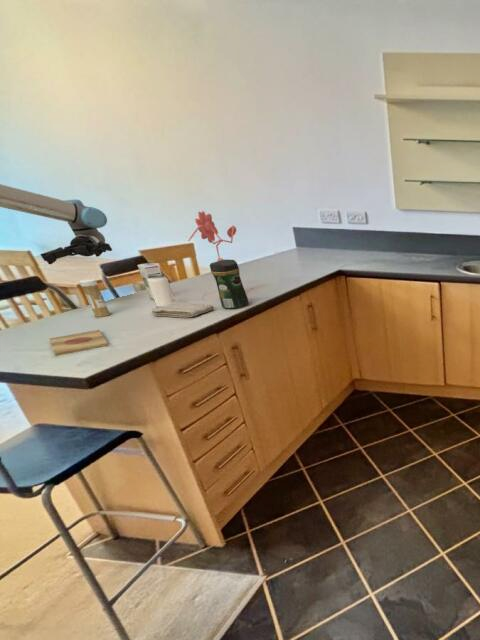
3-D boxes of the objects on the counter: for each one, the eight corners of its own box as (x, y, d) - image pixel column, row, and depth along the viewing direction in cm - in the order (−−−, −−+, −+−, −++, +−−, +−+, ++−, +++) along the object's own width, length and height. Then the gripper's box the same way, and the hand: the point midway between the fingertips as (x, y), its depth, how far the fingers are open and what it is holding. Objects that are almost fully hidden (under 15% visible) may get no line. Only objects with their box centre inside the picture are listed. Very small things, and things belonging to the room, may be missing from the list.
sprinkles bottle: (110, 316, 157) (94, 280, 151) (93, 318, 155) (77, 282, 149) (111, 313, 161) (96, 278, 155) (95, 314, 158) (79, 279, 152)
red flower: (256, 288, 199) (236, 209, 183) (224, 302, 176) (198, 214, 160) (224, 287, 198) (200, 208, 183) (188, 302, 175) (157, 213, 159)
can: (176, 302, 175) (165, 273, 169) (177, 306, 170) (166, 276, 165) (156, 305, 171) (145, 275, 166) (157, 308, 167) (146, 278, 161)
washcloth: (175, 307, 168) (172, 300, 167) (216, 309, 166) (214, 302, 165) (149, 316, 158) (146, 308, 156) (193, 318, 156) (190, 310, 154)
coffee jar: (235, 302, 176) (222, 257, 168) (252, 303, 175) (240, 258, 167) (218, 309, 167) (203, 262, 159) (236, 310, 167) (222, 263, 158)
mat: (50, 340, 134) (49, 338, 133) (100, 331, 142) (98, 329, 141) (55, 355, 123) (54, 353, 123) (108, 345, 131) (107, 342, 131)
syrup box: (171, 297, 181) (159, 263, 175) (155, 300, 177) (142, 266, 170) (165, 295, 184) (153, 262, 177) (149, 298, 179) (136, 264, 173)
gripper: (128, 248, 174) (120, 259, 158) (51, 260, 164) (34, 274, 148) (118, 230, 170) (108, 239, 154) (38, 241, 160) (19, 253, 144)
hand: (72, 256), depth 151 cm, fingers open, 13 cm apart
